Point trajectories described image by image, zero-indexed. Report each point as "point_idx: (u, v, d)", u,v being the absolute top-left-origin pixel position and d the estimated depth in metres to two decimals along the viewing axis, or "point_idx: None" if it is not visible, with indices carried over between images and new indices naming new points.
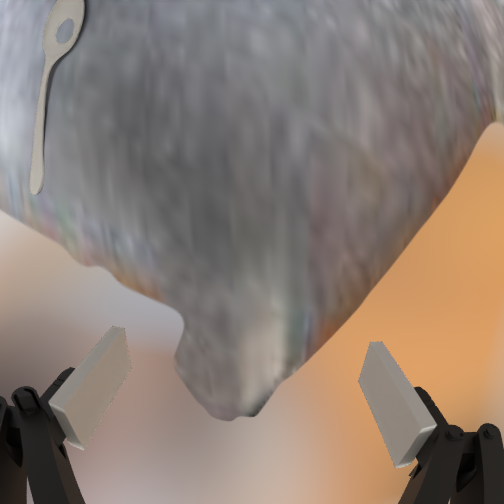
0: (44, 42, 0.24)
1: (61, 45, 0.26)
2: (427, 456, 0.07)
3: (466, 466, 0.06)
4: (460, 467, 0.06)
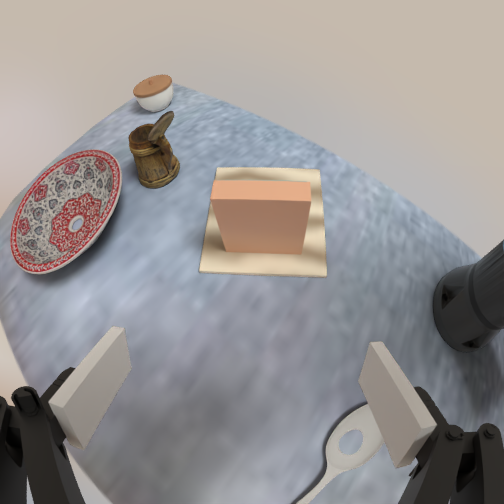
0: (327, 444, 0.32)
1: (342, 455, 0.32)
2: (427, 456, 0.07)
3: (465, 467, 0.06)
4: (460, 467, 0.06)
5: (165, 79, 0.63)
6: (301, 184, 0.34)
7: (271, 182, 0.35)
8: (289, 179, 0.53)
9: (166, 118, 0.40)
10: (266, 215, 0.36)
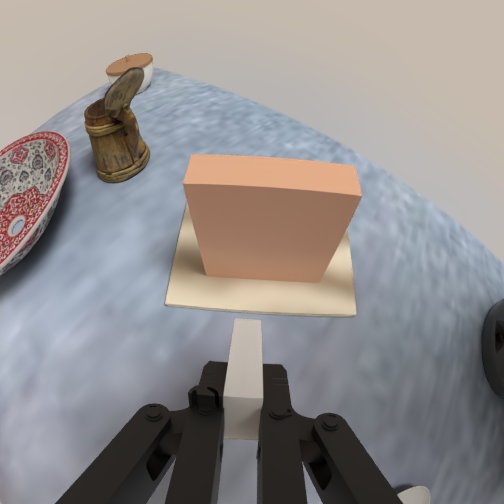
0: None
1: None
2: None
3: (306, 456, 0.08)
4: None
5: (144, 56, 0.48)
6: (341, 168, 0.19)
7: (291, 161, 0.20)
8: None
9: (132, 75, 0.24)
10: (280, 218, 0.21)
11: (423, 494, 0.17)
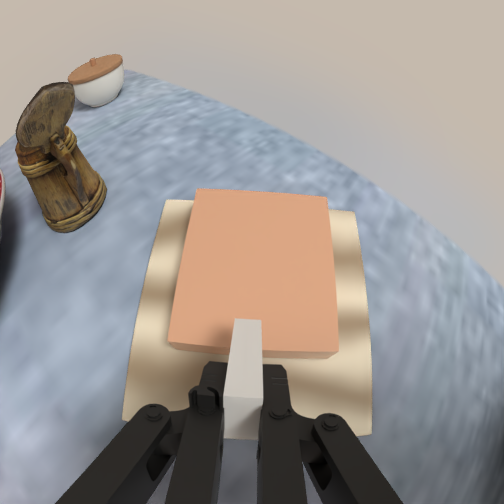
0: None
1: None
2: None
3: (306, 456, 0.08)
4: None
5: (113, 58, 0.38)
6: None
7: None
8: None
9: (48, 96, 0.14)
10: (269, 220, 0.24)
11: None
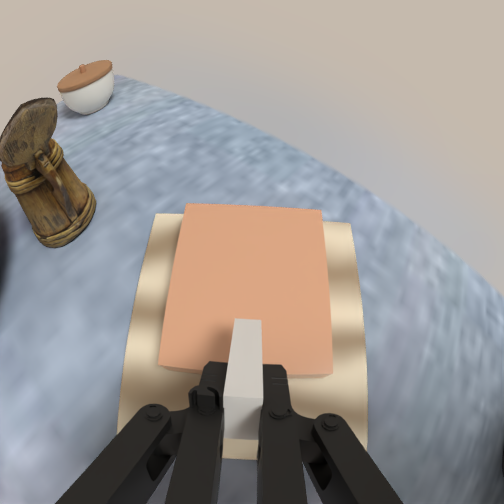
0: None
1: None
2: None
3: (306, 456, 0.08)
4: None
5: (102, 65, 0.37)
6: None
7: None
8: None
9: (28, 114, 0.13)
10: (260, 237, 0.23)
11: None
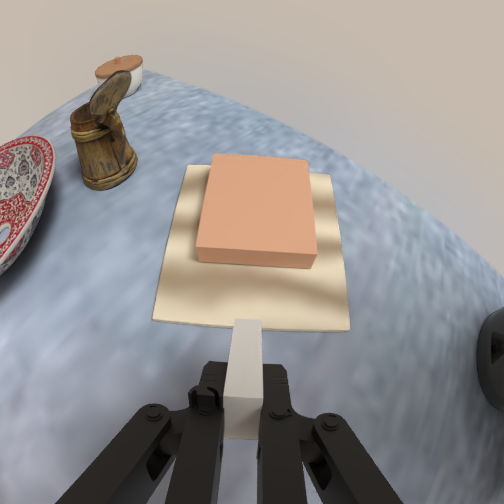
0: None
1: None
2: None
3: (306, 456, 0.08)
4: None
5: (134, 58, 0.47)
6: None
7: None
8: None
9: (118, 79, 0.23)
10: (266, 173, 0.34)
11: None
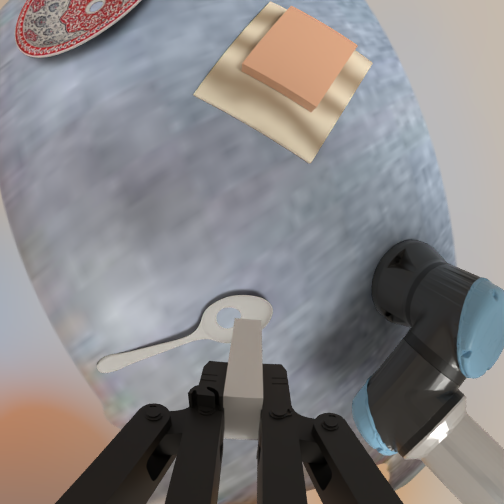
0: None
1: (216, 324, 0.45)
2: None
3: (306, 456, 0.08)
4: None
5: None
6: None
7: None
8: None
9: None
10: (319, 38, 0.33)
11: (269, 312, 0.44)
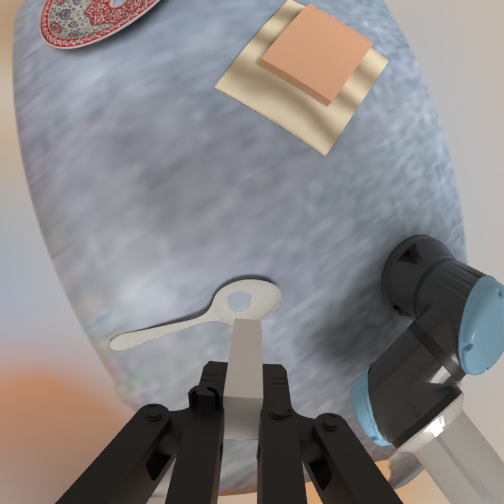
0: (219, 290, 0.46)
1: (227, 306, 0.48)
2: None
3: (306, 456, 0.08)
4: None
5: None
6: None
7: None
8: None
9: None
10: (336, 35, 0.33)
11: (278, 298, 0.46)
